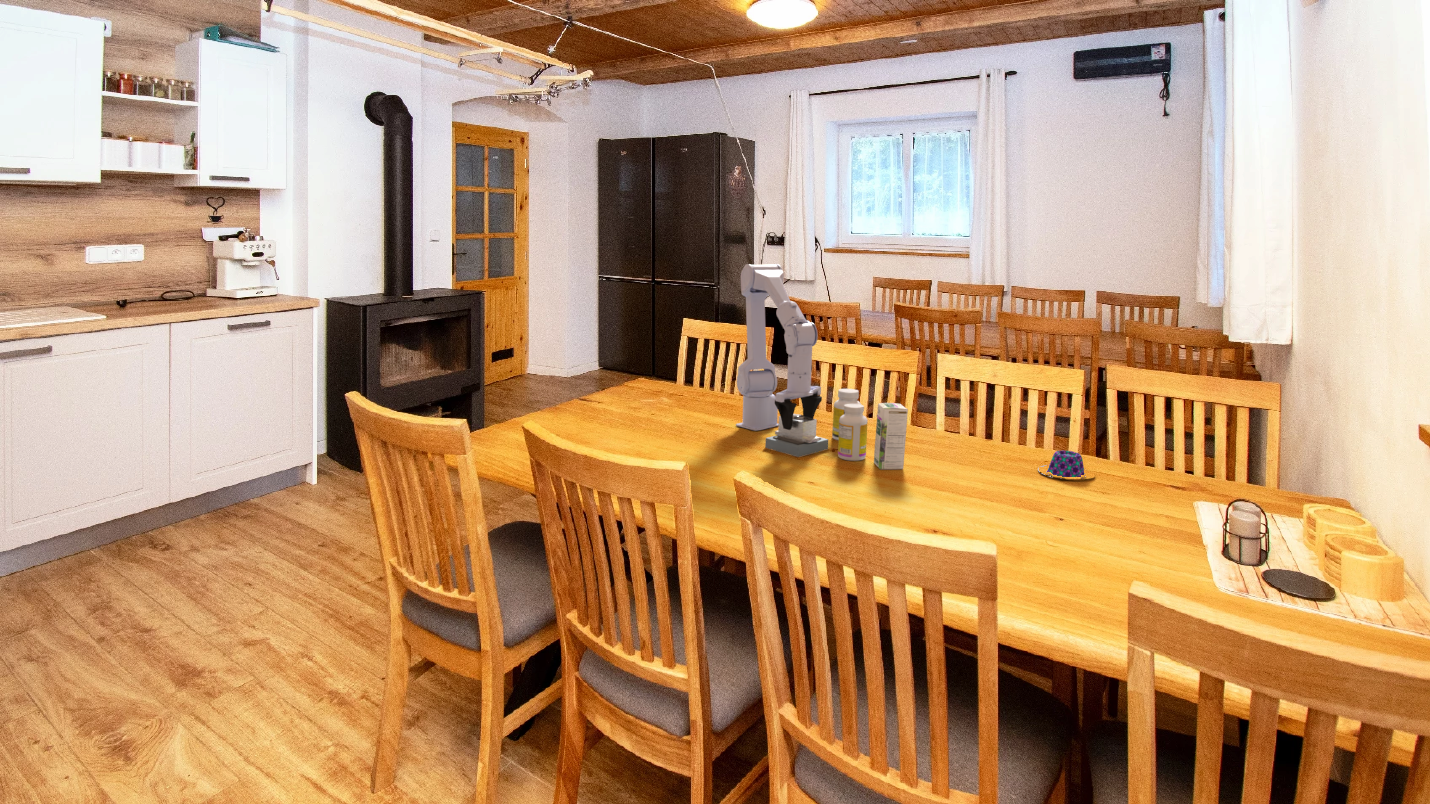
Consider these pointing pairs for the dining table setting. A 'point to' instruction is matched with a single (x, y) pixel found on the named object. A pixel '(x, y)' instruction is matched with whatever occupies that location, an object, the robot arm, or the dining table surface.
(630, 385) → the dining table surface
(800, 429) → the housing
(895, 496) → the dining table surface
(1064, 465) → the polka-dot brimmed hat
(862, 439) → the supplement bottle
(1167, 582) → the dining table surface
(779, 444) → the stand
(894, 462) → the syrup box
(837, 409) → the supplement bottle
